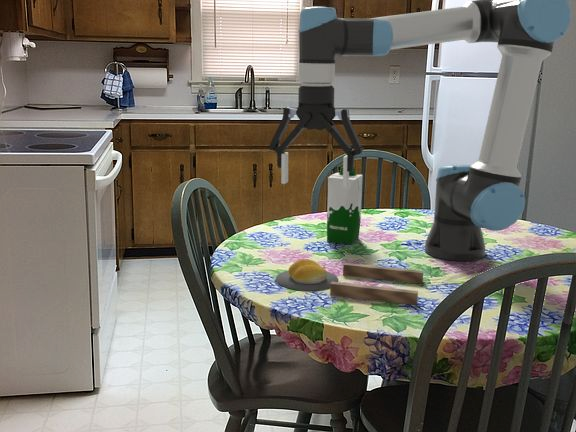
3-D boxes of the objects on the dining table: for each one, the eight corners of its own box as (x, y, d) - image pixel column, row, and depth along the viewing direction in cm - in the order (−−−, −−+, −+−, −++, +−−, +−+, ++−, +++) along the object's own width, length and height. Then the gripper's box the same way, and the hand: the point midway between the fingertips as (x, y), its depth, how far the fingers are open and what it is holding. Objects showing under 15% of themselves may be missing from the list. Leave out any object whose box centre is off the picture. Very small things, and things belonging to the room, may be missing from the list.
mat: (343, 273, 147) (343, 272, 147) (330, 294, 134) (330, 292, 134) (286, 267, 151) (286, 266, 151) (267, 286, 138) (267, 285, 138)
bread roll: (298, 287, 137) (299, 269, 136) (284, 274, 145) (284, 257, 144) (333, 283, 140) (334, 265, 139) (317, 270, 148) (317, 254, 147)
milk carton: (362, 237, 178) (365, 167, 173) (353, 246, 169) (356, 172, 165) (332, 234, 181) (335, 164, 176) (322, 242, 173) (324, 169, 168)
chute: (422, 281, 143) (423, 271, 142) (416, 305, 129) (417, 293, 128) (344, 272, 148) (344, 262, 147) (330, 294, 134) (330, 283, 133)
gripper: (378, 85, 133) (374, 184, 138) (265, 83, 140) (265, 178, 145) (373, 86, 126) (369, 191, 131) (254, 84, 133) (254, 184, 138)
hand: (314, 184), depth 138 cm, fingers open, 13 cm apart
